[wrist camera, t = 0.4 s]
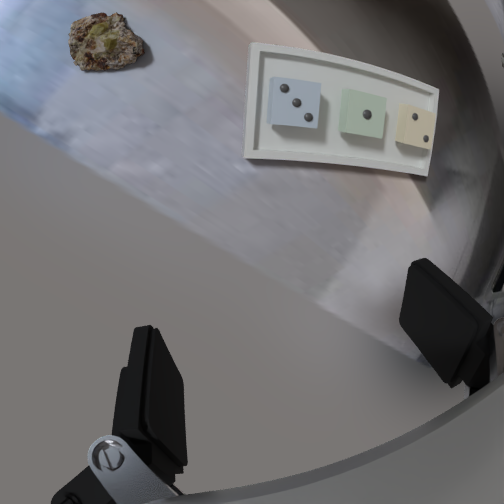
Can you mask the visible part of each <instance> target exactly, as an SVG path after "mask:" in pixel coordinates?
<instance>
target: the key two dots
mask: <svg viewBox="0 0 504 504" xmlns="http://www.w3.org/2000/svg"><path fill="white" fill-rule="evenodd" d="M435 116H436V114H435V113H432V112H430V111H427V110H424V109H421V108H418V107H415V106H412V105H409V104H400V103H399V111H398V120H397V128H396V136H395V141H397V142H401V143H405V144H409V145H413V146H417V147H422V148H426V149H430V150H431V146H432V140H433V133H434V125H435Z"/></svg>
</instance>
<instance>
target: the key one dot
mask: <svg viewBox="0 0 504 504" xmlns="http://www.w3.org/2000/svg"><path fill="white" fill-rule="evenodd" d="M386 101H387V98H385V97H381V96H377V95H373V94H370V93H365V92H361V91H357V90H353V89H342V94H341V105H340V115H339V125H338V131H342V132H346V133H352V134H358V135H364V136H370V137H375V138H380V139H382V136H383V129H384V120H385V111H386Z"/></svg>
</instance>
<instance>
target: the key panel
mask: <svg viewBox="0 0 504 504" xmlns="http://www.w3.org/2000/svg"><path fill="white" fill-rule="evenodd" d="M272 77H282V78H290V79H297V80H304V81H311V82H317V83H321V93H320V105H319V115H318V126H317V129H316V128H308V127H298V126H288V125H276V124H268V123H266V122H267V108H268V95H269V81H270V78H272ZM342 89H353V90H357V91H361V92H365V93H370V94H373V95H377V96H381V97H385V98H387V101H386V111H385V120H384V129H383V136H382V139H380V138H375V137H370V136H364V135H358V134H352V133H346V132H342V131H338V125H339V115H340V105H341V94H342ZM438 97H439V89H437V88H435V87H432V86H430V85H427V84H425V83H423V82H420V81H417V80H415V79H412V78H409V77H407V76H404V75H401V74H398V73H395V72H392V71H389V70H386V69H383V68H380V67H377V66H374V65H370V64H367V63H363V62H360V61H356V60H352V59H348V58H344V57H340V56H336V55H331V54H327V53H322V52H317V51H312V50H306V49H301V48H294V47H288V46H281V45H273V44H265V43H255V42H251V43H250V45H249V47H248V61H247V76H246V91H245V106H244V122H243V139H242V157H243V158H253V159H277V160H294V161H309V162H321V163H332V164H342V165H352V166H361V167H369V168H377V169H384V170H391V171H398V172H404V173H411V174H417V175H423V176H427V175H428V170H429V165H430V159H431V153H432V147H433V140H434V133H435V125H436V117H437V108H438ZM399 103H400V104H409V105H412V106H415V107H418V108H421V109H424V110H427V111H430V112H432V113H435V114H436V116H435V125H434V133H433V140H432V146H431V150H430V149H426V148H422V147H417V146H413V145H409V144H405V143H401V142H397V141H395V136H396V128H397V120H398V111H399Z"/></svg>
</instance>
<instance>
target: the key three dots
mask: <svg viewBox="0 0 504 504" xmlns="http://www.w3.org/2000/svg"><path fill="white" fill-rule="evenodd" d="M320 93H321V83H317V82H311V81H304V80H297V79H290V78H282V77H272V78H270V81H269V95H268V108H267V122H266V123H268V124H276V125H288V126H298V127H308V128H316V129H317V126H318V115H319V105H320Z"/></svg>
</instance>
